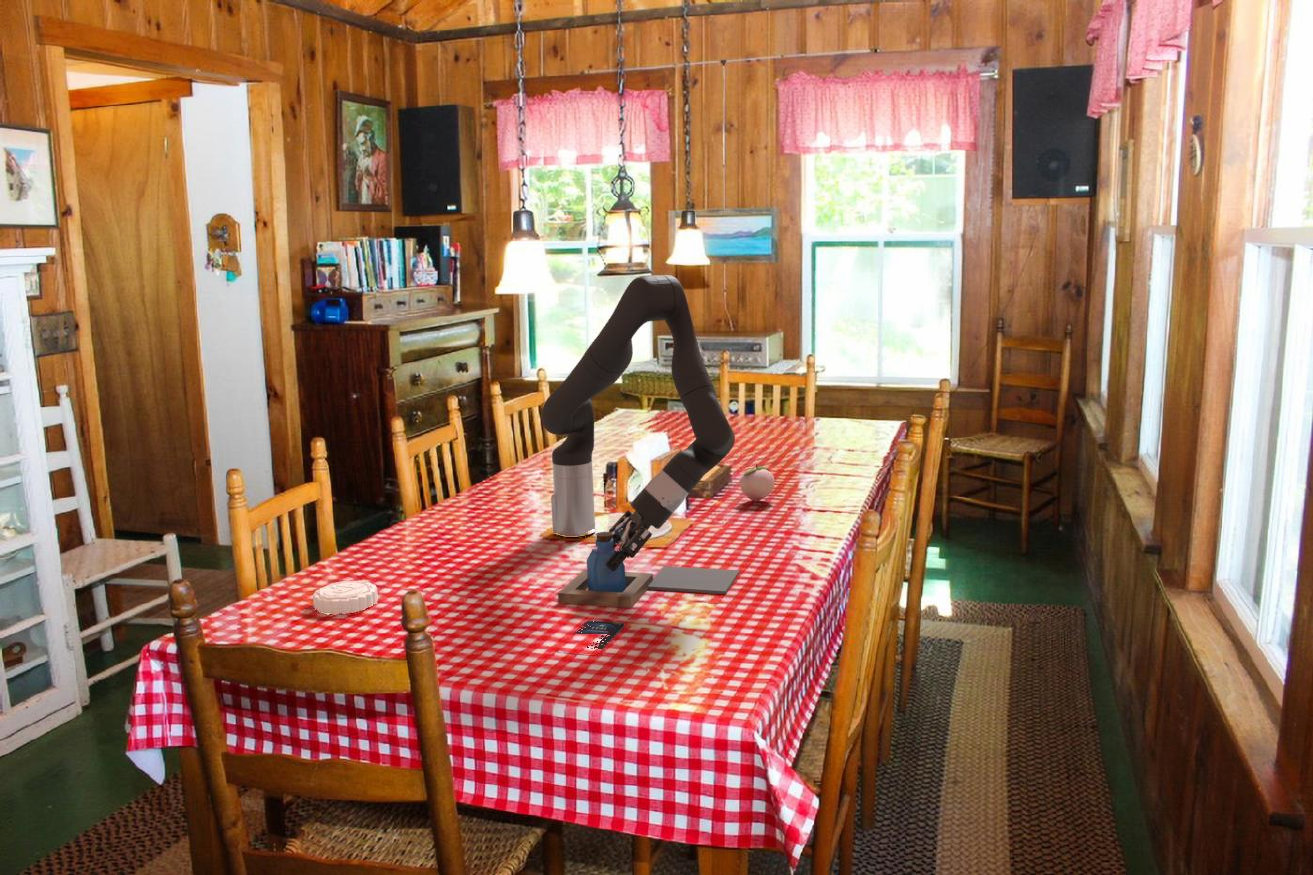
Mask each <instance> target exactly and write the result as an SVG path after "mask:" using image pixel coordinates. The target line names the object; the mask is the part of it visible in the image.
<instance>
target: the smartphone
mask: <svg viewBox="0 0 1313 875" xmlns="http://www.w3.org/2000/svg"><path fill="white" fill-rule="evenodd" d="M586 621H587V622H586ZM586 621H585V622H584V623H583V624H582V625H583V626H584V627H586V628H584V627H583V628H582V627H581V626H579V628H581V629H583V630H581V629H579V628H578V629H579V630H578V629H577V630H578V631H580V632H578V631H577V630H576V631H577V632H576V631H575V632H574V633H573V634H575V633H577V634H607V635H610V636H608V637H606V636H607V635H606V636H605V637H604V636H603V635H602V636H601V637H604V638H603V639H602V638H599V639H602V640H601V641H600V643H599V646H598V647H597V646H595V647H594V649H595V648H598V649H603V648H604V647H605V646H606V645H607V644H608V643H607V642H610V640H612V641H613V640H614V638H615V637H616V636H617V635H619V634H620V632H621V631H623V629H624V628H625V623H623V622H616V621H615V622H614V621H604V620H586ZM593 621H594V622H593ZM587 624H588V625H589V626H588V625H587ZM590 626H591V627H590ZM623 627H624V628H623ZM622 628H623V629H622ZM581 632H582V633H581ZM616 634H617V635H616ZM615 635H616V636H615ZM614 636H615V637H614ZM613 637H614V638H613ZM605 639H606V640H605ZM602 641H604V642H602ZM597 642H598V641H597ZM593 643H594V642H593ZM610 643H611V642H610ZM597 644H598V643H596V644H595V645H597ZM601 644H603V645H601ZM604 645H605V646H604ZM608 645H609V644H608ZM608 645H607V646H608ZM591 646H593V645H591ZM607 646H606V647H607ZM606 647H605V648H606ZM587 648H589V647H588V646H587ZM605 648H604V649H605ZM591 649H593V648H591ZM604 649H603V650H604Z"/></svg>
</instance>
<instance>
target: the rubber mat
mask: <svg viewBox="0 0 1313 875" xmlns="http://www.w3.org/2000/svg"><path fill="white" fill-rule="evenodd" d="M739 575H740V570H738V569H737V570H735V569H721V568H719V569H718V568H701V567H688V566H687V567H685V566H684V567H683V566H667V565H664V566H663V567H662V568H661V569H660V570H659V571H658V572H657V573H656V574H655V576H653V581H652V582H651V583H650V584H649V585H648V590H653V591H669V592H682V593H683V592H686V593H697V594H699V593H700V594H717V595H719V594H720V595H726V594H727V593H728V591H729V590H730V588H731V587H732V586H733V584H734V583H735V581H736V580H737V578H738V576H739Z"/></svg>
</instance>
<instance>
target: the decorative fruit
mask: <svg viewBox="0 0 1313 875" xmlns="http://www.w3.org/2000/svg"><path fill="white" fill-rule="evenodd" d="M755 465H756V466H755V468H749V469H746V470H745V471H744V473H743V474H742V475H741V477H740V479H739V487H740V490H741V492H742V494H744V495H745V496H746V497H747V498H748V499H750V500H751V501H752V502H755V503H759V502H760V501H761V500H763V499H765V498H767V497H768V496H769V495H770V494H772V492H773V491H774V489H775V477H774V475H773V473H772V472H770V470H769V468H768V467H766V466H758V464H757V463H756V464H755Z"/></svg>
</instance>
